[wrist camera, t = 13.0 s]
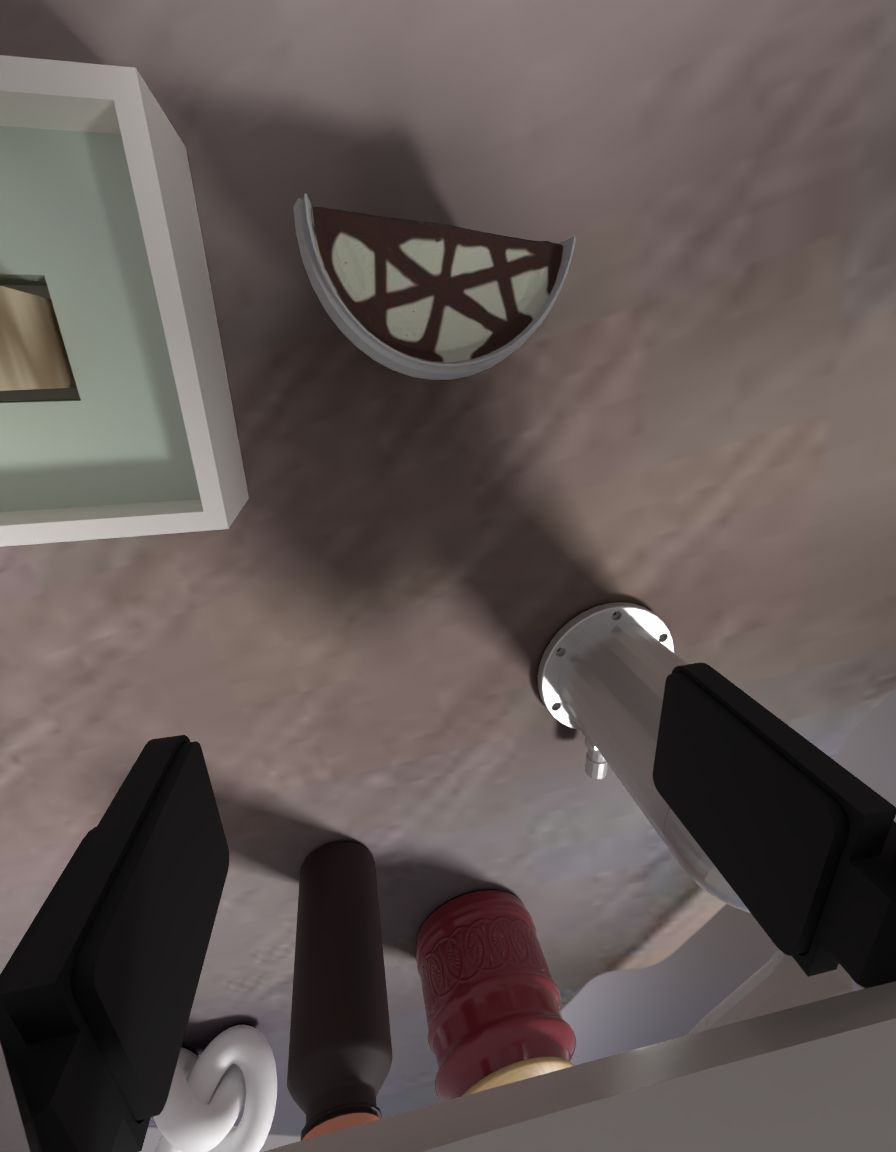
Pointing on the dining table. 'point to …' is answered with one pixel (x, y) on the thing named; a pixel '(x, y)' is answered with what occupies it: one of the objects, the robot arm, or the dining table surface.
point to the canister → (489, 996)
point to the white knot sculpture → (221, 1096)
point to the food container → (428, 288)
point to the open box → (181, 286)
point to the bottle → (338, 993)
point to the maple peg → (31, 344)
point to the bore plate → (88, 331)
